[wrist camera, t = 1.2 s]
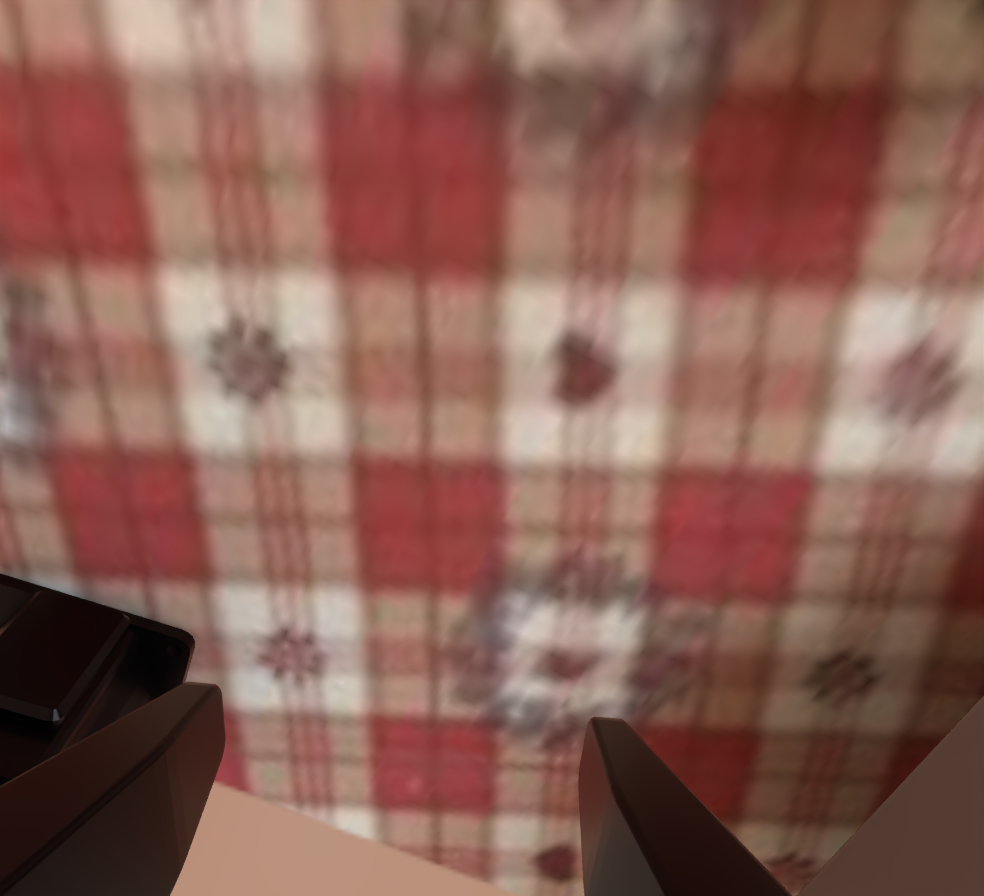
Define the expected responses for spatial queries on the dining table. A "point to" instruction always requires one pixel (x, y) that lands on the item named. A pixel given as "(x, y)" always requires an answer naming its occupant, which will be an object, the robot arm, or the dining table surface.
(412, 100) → the dining table surface
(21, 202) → the dining table surface
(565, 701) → the dining table surface
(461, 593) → the dining table surface
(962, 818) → the cabinet door
